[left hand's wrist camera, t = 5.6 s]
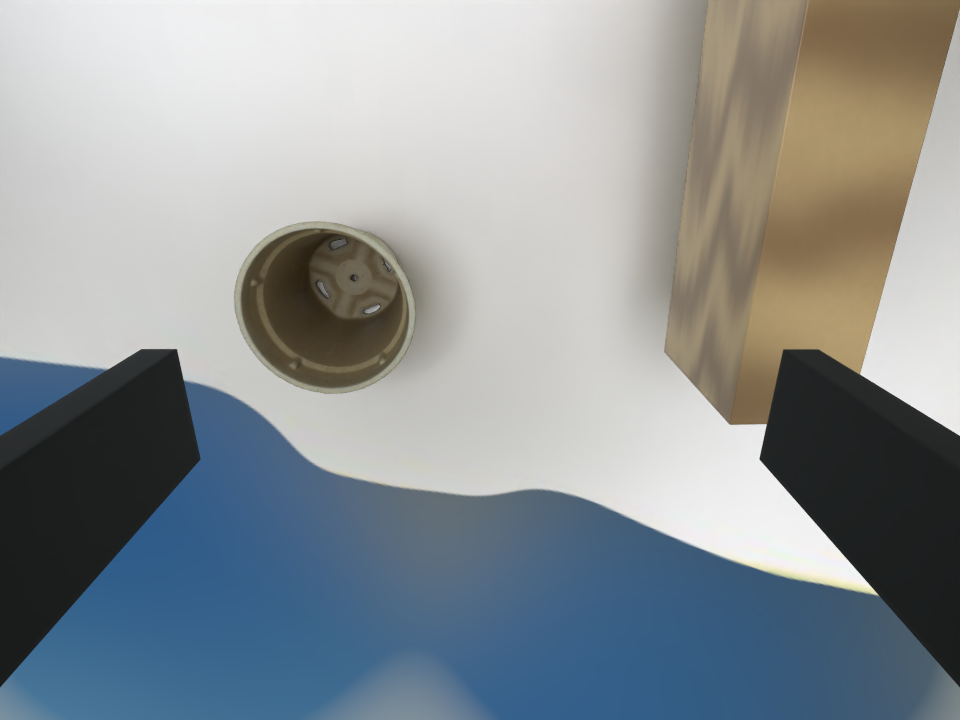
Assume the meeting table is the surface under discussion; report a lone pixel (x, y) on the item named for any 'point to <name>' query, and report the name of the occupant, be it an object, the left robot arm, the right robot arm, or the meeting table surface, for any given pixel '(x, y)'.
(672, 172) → the meeting table surface
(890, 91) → the bar
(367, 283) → the flower pot
